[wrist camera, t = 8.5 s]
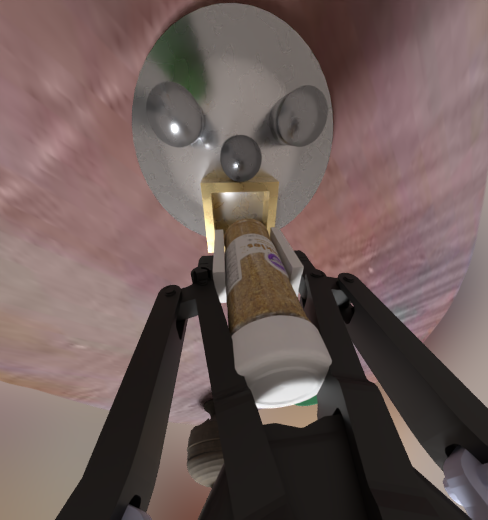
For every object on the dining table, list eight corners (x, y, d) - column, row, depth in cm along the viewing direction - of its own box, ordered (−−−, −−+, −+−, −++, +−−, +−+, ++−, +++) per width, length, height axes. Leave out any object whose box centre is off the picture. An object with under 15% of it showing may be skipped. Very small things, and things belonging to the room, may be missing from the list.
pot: (176, 410, 59) (166, 517, 42) (219, 383, 55) (228, 486, 39) (214, 421, 68) (219, 511, 51) (254, 398, 65) (273, 486, 48)
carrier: (163, 240, 28) (153, 261, 23) (102, 4, 16) (53, -50, 11) (307, 233, 30) (323, 251, 25) (351, 19, 18) (397, -21, 13)
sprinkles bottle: (276, 227, 18) (363, 367, 7) (255, 263, 21) (298, 414, 9) (233, 209, 17) (260, 348, 6) (215, 249, 19) (209, 410, 8)
